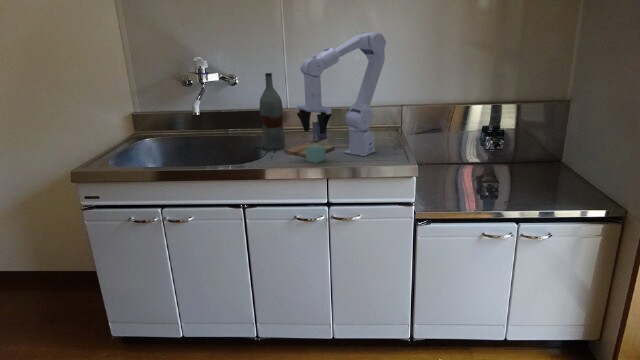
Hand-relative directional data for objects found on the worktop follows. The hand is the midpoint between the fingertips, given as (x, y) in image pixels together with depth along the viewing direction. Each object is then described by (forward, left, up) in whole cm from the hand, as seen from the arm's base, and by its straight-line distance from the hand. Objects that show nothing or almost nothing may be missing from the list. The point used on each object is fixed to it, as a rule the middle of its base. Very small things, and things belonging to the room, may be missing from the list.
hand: (314, 132), depth 158 cm
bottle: (+27, -5, -11) cm, 29 cm away
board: (+10, -8, -10) cm, 16 cm away
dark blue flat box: (+19, -25, -11) cm, 33 cm away
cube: (0, 0, -10) cm, 10 cm away
